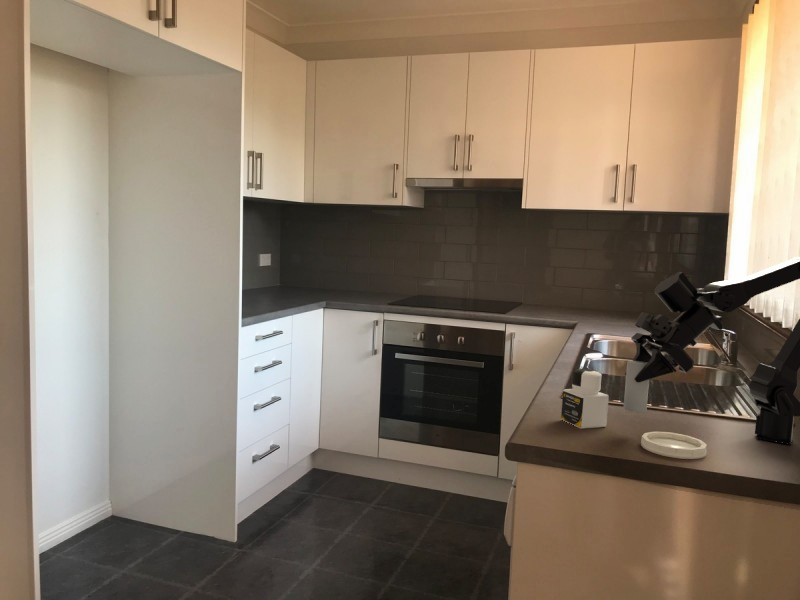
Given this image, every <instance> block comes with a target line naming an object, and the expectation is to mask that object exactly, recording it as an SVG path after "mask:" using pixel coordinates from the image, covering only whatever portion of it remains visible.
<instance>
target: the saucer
mask: <svg viewBox="0 0 800 600" xmlns="http://www.w3.org/2000/svg"><path fill="white" fill-rule="evenodd" d="M640 440H641V442H640V445H641V447H642V448H643V449H644V450H646V451H647V452H650V453H652V454H655V455H656V454H657V455H659V456H663V457H669V458H673V459H679V460H680V459H684V460H698V459H703V458H705V457H706V456H707V453H708V452H707V446H708V445H707V443H705V442H704V441H703V440H701V439H699V438H696V437H693V436H690V435H687V434H681V433H676V432H672V431H671V432H668V431H649V432H645V433H643V435H641V439H640Z"/></svg>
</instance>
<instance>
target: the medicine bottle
mask: <svg viewBox="0 0 800 600" xmlns="http://www.w3.org/2000/svg"><path fill="white" fill-rule="evenodd" d="M602 376H603V375H602V374H601V372H599V371H598V370H594V369H588V368H578V369H575V370H574V371H573V372H572V383H571V384H572V385H571V388H565V389H563V390H562V400H561V401H562V403H561V412H560V414H561V415H560V421H562V420H563V421H562V422H564V421H565V422H564V423H566V422H567V424H569V423H570V424H569V425H571V424H572V425H571V426H573V425H574V427H575V428H578V429H594V428H603V427H604V428H605V427H607V420H608V409H609V394H606V393H603V392H600V391H601V384H602Z"/></svg>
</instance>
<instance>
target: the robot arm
mask: <svg viewBox="0 0 800 600" xmlns="http://www.w3.org/2000/svg"><path fill="white" fill-rule="evenodd" d="M798 280H800V256H795V257H792V258H791V259H789V260H787V261H784V262H782V263H778V264H776V265H774V266H771V267H769V268H766V269H763V270H760V271H759V272H758V271H757V272H756V273H753V274H750V275H747V276H744V277H741V278H737V279H728V280H721V281H715V282H712V283H708V284H706V285H705V286H704V287H703V288H695V286H694V285H693V284H692V283H691V281H690V280H689V279H688V276H687V275H686V274H685V273H684V272H681V271H679V272H676V273H675V274H673V275H671V276H669V277H668V278H665V280H662V281H660V282H659V283H658V284H657V285H656V287H655V288H654V293H655V295H657V297H658V298H659V299H660V300H661V302H663V304H664V305H665V306H666V307H667V308H668V310H669V311H670V312H671V313H679V314H680V315H678V316H677V317H676V318H675V319H674V320H669V317H668V316H665V315H663V314H660V313H659V314H657V315H652V314H650V313H646V312H641V313H640V315H639V316H638V318H637V320H636V321H635V324H634V326H635V327H637V328H639V329H642V330H644V331H645V332H647V333H644V332H636V333H635V334H634V335H632V336H631V338H630V339H631V341H632V342H633V343H634V344H635V345H634V346H635V348H636V354H635V356H634V357H633V359H632V361H642V362H647V364H646V365H645V366H644V368H643V369H642V370H641V371H640V372H639V373H638V375H637V376H636V377H635V381H636V382H637V383H639V382H642V381H645V380H649V381H650V380H652V379H654V378H657V377H661V376H665V375H668V374H673V373H677V369H676V368H677V367H678V366H679V367H678V371H679V372H680V373H684V374H686V375H687V374H688V373H689V372H690V371H691V370H693V369H694V363H695V361H694V360H693V358H691V356H690V355H689V354H688V353H687V351H686V349H687V348H688V347H690V346H691V347H694V346H695V345H697V344H698V343H697V342H696V341H695V340H697V339H698V338H699V337H700V336H701V335H702V334H703V333H704V332H705V331H707V330H708V329H709V328H711V329H714V330H718V331H722V330H723V316H719V315H715V313H714V312H713V311H718V312H723V313H731V312H733V311H736V310H738V309H739V308H741V307H743V306H744V305H746V304H748V302H749V301H750V300H751V299H752V298H754V297H755V296H758V295H761V294H763V293H765V292H768V291H771V290H774V289H776V288H779V287H782V286H784V285H787V284H789V283H793V282H795V281H798ZM700 302H701V303H702V304H703V305H704V306H703V305H702V304H701V303H700ZM712 310H713V311H712ZM648 333H650V334H648ZM799 370H800V318H799V319H798V321H796V324H795V325H794V327H793V329H792V330H791V332H790V334H789V335H788V337H787V338H786V340H785V341H784V344H783V345H782V347H781V349H779V351H778V353H777V355H776V357H775V358H774V359H773V361H771V362H770V363H768V364H764V363H758V365H757V366H756V369H755V371H754V373H753V374H752V375H751V376H750V377H749V380H750V382H749V384H748V389H749V391H750V395H751V397H752V398H753V399H754V404H755V406H757V407H759V408H760V409H759V410H760V411H759V413H757V415H756V418H755V427H754V434H755V435H756V436H755V439H757V438H758V439H757V440H761V439H764V440H763V441H767V440H770V441H769V442H772V441H777V442H783V443H788V444H791V445H792V443H793V439H794V437H793V430H794V419H795V417H800V400H799V399H798V398H797V397H796V396H795V392H796V390H797V388H798V372H799ZM624 375H625V376H626V372H624ZM792 438H793V439H792ZM777 442H776V443H777ZM791 442H792V443H791ZM783 443H782V444H783ZM788 444H787V445H788Z"/></svg>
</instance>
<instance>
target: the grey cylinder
mask: <svg viewBox="0 0 800 600" xmlns="http://www.w3.org/2000/svg"><path fill="white" fill-rule="evenodd" d="M646 364H647V362H642V361H633V360H628V361H627V363H626V371H625V373H626V375H625V387H624V388H625V389H624V398H623V399H624V400H623V409H624V410H625V411H628V412H633V413H634V412H635V413H646V412H647V409H648V398H649V396H648V394H649V385H650V379H649V380H645V381H642V382H639V383H637V382H636V381H635V377H636V376H637V375H638V373H639V372H640V371H641V370H642V369H643V368H644V366H645V365H646Z"/></svg>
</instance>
